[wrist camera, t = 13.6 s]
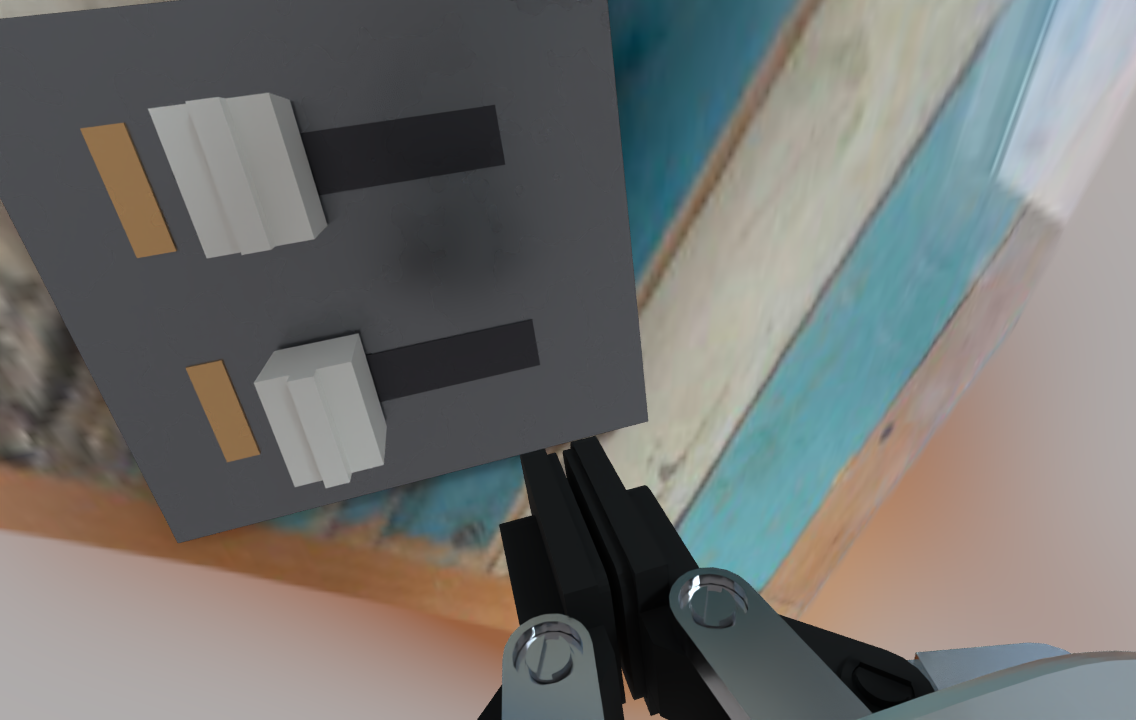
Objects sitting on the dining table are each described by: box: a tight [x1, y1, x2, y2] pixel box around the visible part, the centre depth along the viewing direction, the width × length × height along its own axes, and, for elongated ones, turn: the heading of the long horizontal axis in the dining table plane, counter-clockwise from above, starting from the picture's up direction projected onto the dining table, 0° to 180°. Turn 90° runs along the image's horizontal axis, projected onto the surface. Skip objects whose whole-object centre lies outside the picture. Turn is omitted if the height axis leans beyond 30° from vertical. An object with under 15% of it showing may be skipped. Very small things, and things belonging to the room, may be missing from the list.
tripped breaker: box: [254, 333, 387, 488], centre depth 20 cm, size 3×4×4 cm
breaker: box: [148, 93, 328, 258], centre depth 17 cm, size 3×4×4 cm
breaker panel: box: [0, 0, 648, 543], centre depth 22 cm, size 20×18×2 cm
